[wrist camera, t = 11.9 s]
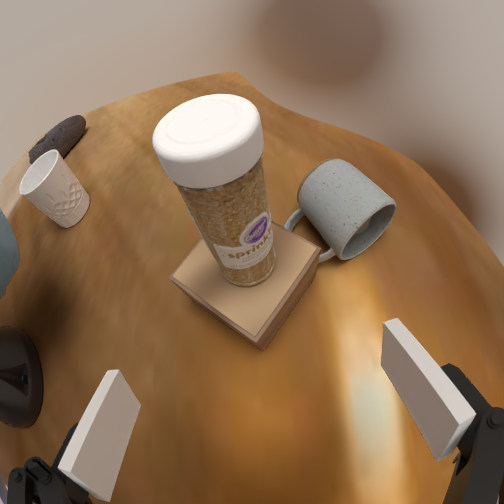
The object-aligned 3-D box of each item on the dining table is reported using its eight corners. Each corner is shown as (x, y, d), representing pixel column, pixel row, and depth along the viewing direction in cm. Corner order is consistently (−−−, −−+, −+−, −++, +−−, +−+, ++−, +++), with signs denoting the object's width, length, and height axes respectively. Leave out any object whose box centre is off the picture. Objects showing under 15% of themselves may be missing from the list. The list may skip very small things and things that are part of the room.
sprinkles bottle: (259, 297, 20) (216, 169, 8) (208, 272, 22) (128, 145, 10) (286, 248, 22) (278, 98, 10) (237, 227, 23) (193, 86, 11)
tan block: (191, 299, 28) (167, 276, 22) (243, 233, 30) (233, 199, 25) (263, 351, 24) (255, 342, 19) (315, 275, 27) (321, 246, 22)
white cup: (50, 228, 36) (12, 193, 27) (72, 188, 39) (40, 151, 30) (77, 235, 34) (34, 195, 25) (101, 191, 37) (67, 147, 28)
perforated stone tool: (85, 126, 48) (72, 104, 42) (95, 129, 47) (81, 105, 41) (39, 175, 44) (22, 155, 38) (46, 181, 42) (27, 160, 36)
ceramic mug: (339, 186, 32) (347, 139, 25) (386, 234, 28) (407, 192, 21) (267, 230, 30) (259, 186, 24) (313, 289, 27) (319, 255, 20)
